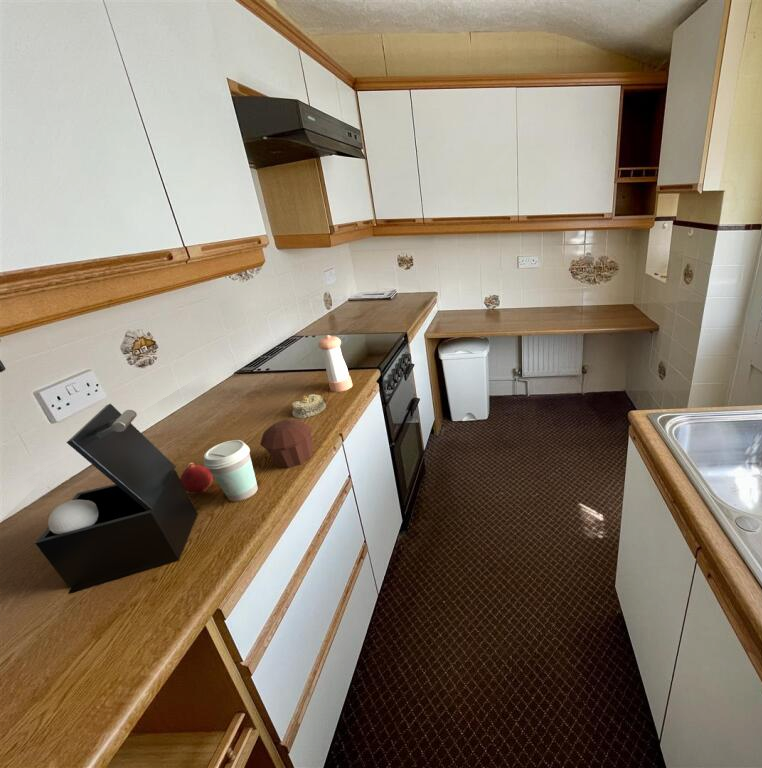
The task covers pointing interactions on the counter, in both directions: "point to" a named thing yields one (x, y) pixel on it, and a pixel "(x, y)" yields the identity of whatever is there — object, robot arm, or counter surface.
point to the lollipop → (73, 516)
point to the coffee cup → (232, 469)
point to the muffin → (288, 442)
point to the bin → (121, 536)
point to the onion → (196, 478)
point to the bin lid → (124, 455)
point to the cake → (308, 406)
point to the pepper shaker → (335, 364)
